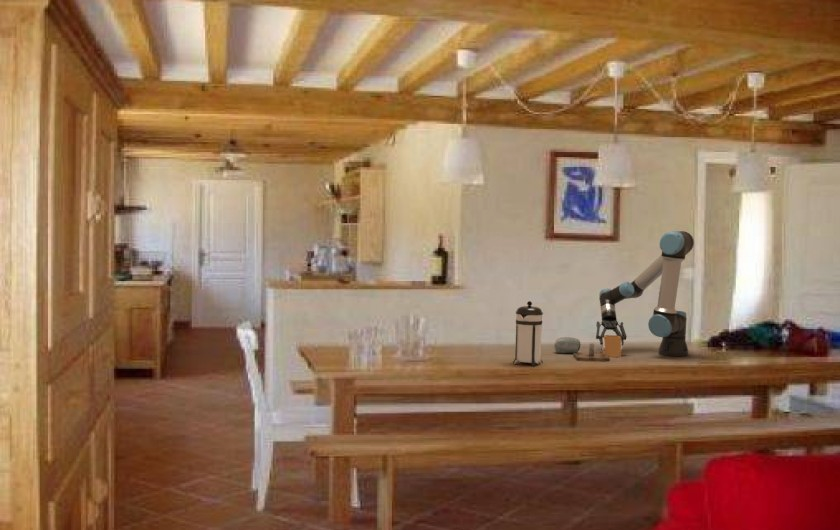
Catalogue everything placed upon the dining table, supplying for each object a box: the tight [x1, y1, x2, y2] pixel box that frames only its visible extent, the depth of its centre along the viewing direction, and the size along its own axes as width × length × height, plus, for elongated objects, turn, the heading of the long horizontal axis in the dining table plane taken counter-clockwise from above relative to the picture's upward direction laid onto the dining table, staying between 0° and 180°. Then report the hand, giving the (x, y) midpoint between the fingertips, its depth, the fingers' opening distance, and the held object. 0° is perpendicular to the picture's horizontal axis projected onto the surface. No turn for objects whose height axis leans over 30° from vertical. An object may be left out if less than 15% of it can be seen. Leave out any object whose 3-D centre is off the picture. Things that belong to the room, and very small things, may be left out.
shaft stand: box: [573, 343, 611, 362], centre depth 447 cm, size 16×14×8 cm
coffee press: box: [512, 300, 544, 367], centre depth 427 cm, size 17×16×30 cm
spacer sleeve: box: [601, 334, 622, 358], centre depth 460 cm, size 8×8×10 cm
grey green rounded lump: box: [553, 336, 581, 354], centre depth 465 cm, size 14×10×10 cm
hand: (612, 349), depth 456 cm, fingers closed on spacer sleeve, 8 cm apart
